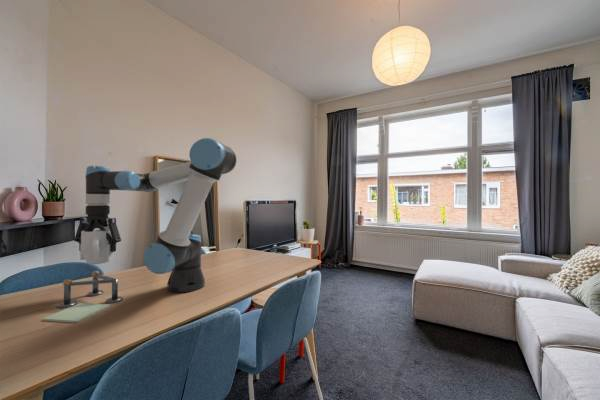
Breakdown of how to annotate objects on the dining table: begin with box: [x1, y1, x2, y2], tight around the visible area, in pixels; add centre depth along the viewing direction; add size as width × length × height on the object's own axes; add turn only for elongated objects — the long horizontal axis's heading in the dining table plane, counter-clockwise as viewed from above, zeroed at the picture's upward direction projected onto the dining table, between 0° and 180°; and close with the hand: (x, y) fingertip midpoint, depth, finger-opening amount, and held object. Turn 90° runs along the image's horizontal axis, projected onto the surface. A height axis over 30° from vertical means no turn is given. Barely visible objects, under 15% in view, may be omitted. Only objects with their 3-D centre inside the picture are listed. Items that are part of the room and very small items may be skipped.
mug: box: [81, 228, 111, 265], centre depth 99 cm, size 15×11×13 cm
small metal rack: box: [57, 270, 124, 309], centre depth 94 cm, size 18×16×9 cm
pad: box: [42, 302, 112, 324], centre depth 83 cm, size 12×12×1 cm
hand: (97, 259), depth 100 cm, fingers closed on mug, 11 cm apart
